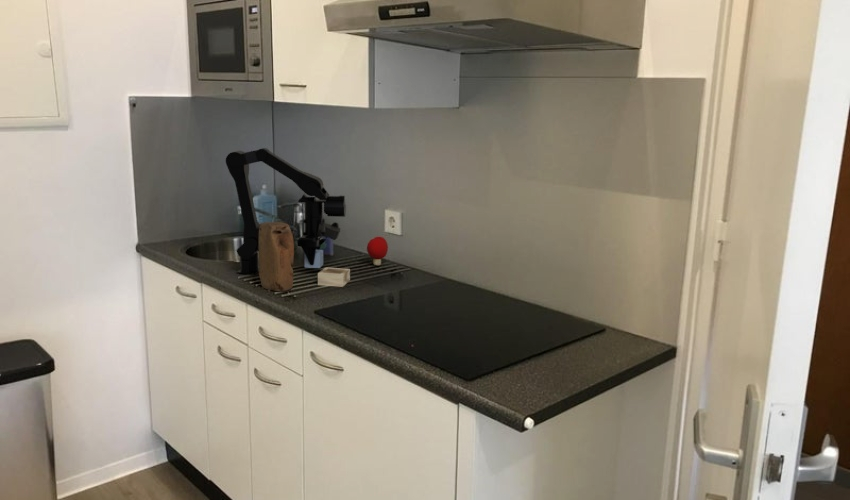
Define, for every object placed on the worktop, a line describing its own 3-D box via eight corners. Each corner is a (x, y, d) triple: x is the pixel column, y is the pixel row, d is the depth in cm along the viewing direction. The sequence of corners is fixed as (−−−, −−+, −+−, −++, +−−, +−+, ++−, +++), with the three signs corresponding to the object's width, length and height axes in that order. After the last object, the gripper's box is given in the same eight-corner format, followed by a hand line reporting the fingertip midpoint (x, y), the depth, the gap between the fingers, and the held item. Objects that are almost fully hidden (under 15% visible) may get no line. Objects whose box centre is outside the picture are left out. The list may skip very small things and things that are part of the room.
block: (257, 286, 206) (255, 221, 202) (278, 282, 211) (277, 219, 207) (276, 294, 198) (275, 227, 194) (298, 289, 204) (297, 224, 199)
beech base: (325, 279, 217) (325, 267, 216) (349, 281, 216) (349, 268, 215) (317, 285, 210) (317, 273, 209) (342, 287, 208) (342, 275, 207)
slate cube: (308, 263, 225) (308, 249, 224) (323, 264, 225) (323, 249, 224) (304, 267, 220) (304, 252, 219) (319, 268, 220) (319, 253, 219)
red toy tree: (372, 262, 241) (372, 234, 239) (391, 264, 239) (391, 236, 237) (362, 268, 232) (363, 239, 230) (382, 270, 230) (382, 241, 228)
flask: (334, 254, 251) (334, 226, 248) (331, 256, 248) (330, 227, 246) (311, 252, 253) (311, 224, 251) (308, 254, 251) (307, 225, 248)
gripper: (331, 221, 209) (332, 270, 213) (343, 212, 228) (343, 257, 231) (296, 220, 210) (297, 269, 214) (311, 211, 228) (311, 256, 232)
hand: (313, 262), depth 222 cm, fingers closed on slate cube, 5 cm apart
